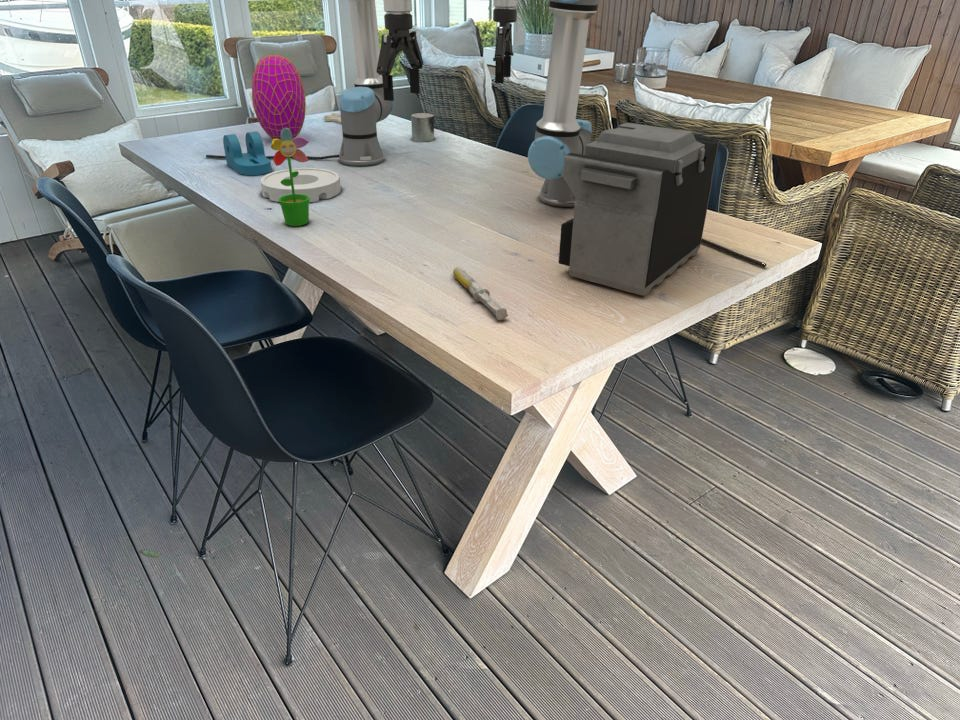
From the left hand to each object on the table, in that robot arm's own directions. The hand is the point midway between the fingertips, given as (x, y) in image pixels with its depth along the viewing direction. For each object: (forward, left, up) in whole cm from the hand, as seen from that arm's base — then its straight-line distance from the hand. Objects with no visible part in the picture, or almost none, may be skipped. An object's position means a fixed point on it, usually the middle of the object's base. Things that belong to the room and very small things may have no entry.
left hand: (502, 80), depth 227 cm
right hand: (-18, -44, +1) cm, 48 cm away
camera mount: (-77, -36, -27) cm, 89 cm away
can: (-37, +23, -27) cm, 51 cm away
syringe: (+24, -109, -27) cm, 115 cm away
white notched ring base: (-48, -54, -27) cm, 77 cm away
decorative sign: (-82, +41, -27) cm, 95 cm away
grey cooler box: (+53, -81, -27) cm, 100 cm away
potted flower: (-35, -79, -27) cm, 91 cm away
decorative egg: (-87, +4, -27) cm, 91 cm away
